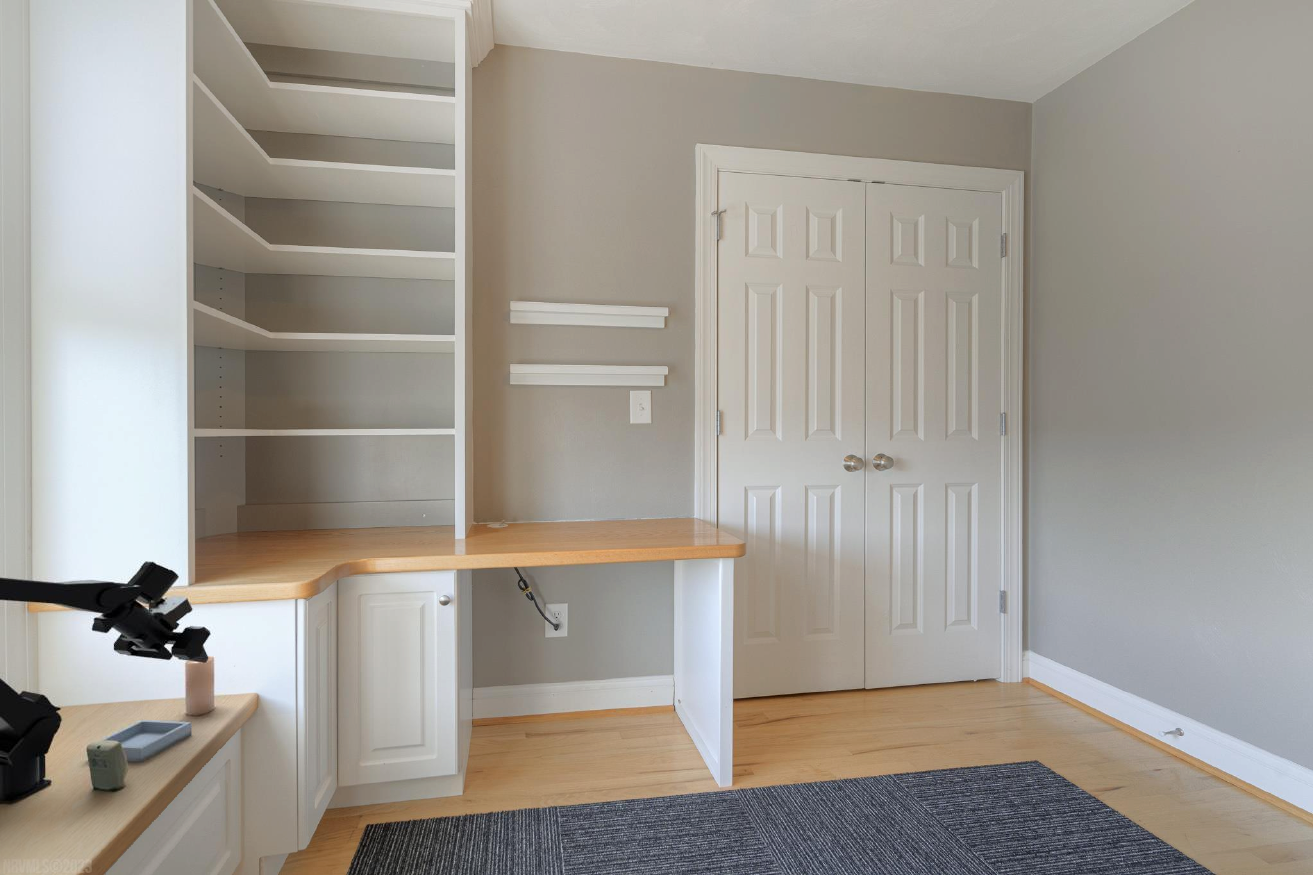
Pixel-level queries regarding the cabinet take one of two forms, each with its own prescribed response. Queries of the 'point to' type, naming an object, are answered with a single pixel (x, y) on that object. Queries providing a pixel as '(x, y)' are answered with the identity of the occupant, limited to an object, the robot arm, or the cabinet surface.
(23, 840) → the cabinet surface
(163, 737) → the tray
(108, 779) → the power adapter
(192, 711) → the peach rounded peg
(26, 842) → the cabinet surface
